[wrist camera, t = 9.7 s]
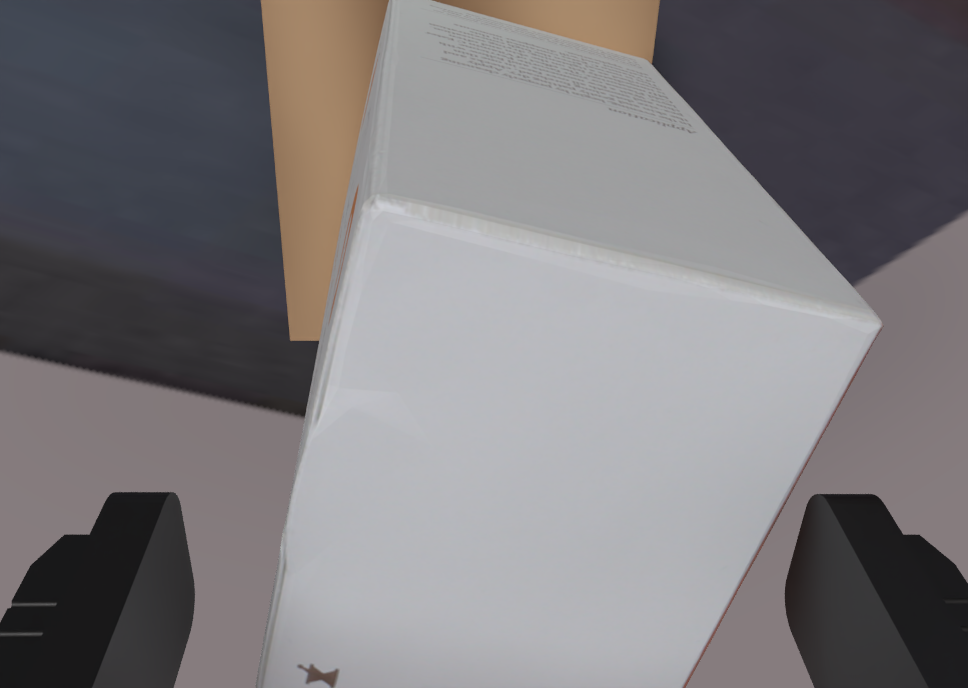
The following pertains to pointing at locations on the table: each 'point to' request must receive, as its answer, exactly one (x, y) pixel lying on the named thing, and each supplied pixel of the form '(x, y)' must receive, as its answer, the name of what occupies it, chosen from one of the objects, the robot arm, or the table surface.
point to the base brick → (341, 102)
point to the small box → (545, 376)
